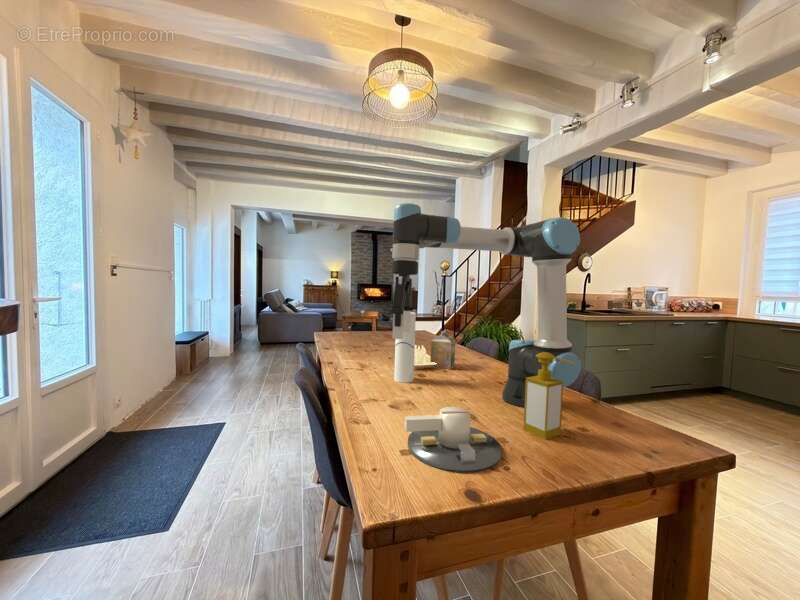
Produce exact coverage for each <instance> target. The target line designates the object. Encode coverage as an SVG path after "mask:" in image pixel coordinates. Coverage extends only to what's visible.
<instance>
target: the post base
mask: <svg viewBox="0 0 800 600" xmlns="http://www.w3.org/2000/svg"><path fill="white" fill-rule="evenodd" d="M470 434H484V435H485V436H486V438H487V442H473V441H472V440H471V438H470V441H469V443H468V444H457V448H458V449H454V448H449V447H446V446H443V445H442V444H440V442H439V440H438V438H439V430H435V431H413V432H410V434H409V435H408V438H407V447H408V450H409V452H410V453H411V455H412V456H413V457H414V458H415V459H416V460H418V461H420V462H421V463H422V464H423V463H424V464H425V465H426V466H427V465H428V466H430V467H433V468H436V469H439V470H442V471H449V472H453V473H476V472H482V471H486V470H488V469H491V468H493V467H494V466H496V465H497V464H498V463H500V461H501V459H502V455H503V453H502V452H503V450H502V447H501V444H500V442H499V441H498V440H497V439H496V438H495V437H493V436H492V435H490V434H489V433H487V432H485V431H483V430H481V429H478V428H476V427H472V426H470ZM427 436H434V437H435V438H436V440H437V444H432V445H423V444H422V442H421V437H427Z"/></svg>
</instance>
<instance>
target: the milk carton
mask: <svg viewBox="0 0 800 600" xmlns="http://www.w3.org/2000/svg"><path fill="white" fill-rule="evenodd" d="M429 361H430V362H435V363H437V364H436V365H433V366H432V367H434V368H433V369H437V368H439V369H438V370H445V369H448V371H451V370H452V369H453V368H454V367H455V366H454V365H455V361H456V338H455V337H454V336H452V335H451V334H450V333H449V332H447V329H445V330H442V331H441V333H440V335H438V336H435V337H434V338H432V339H431V341H430V360H429ZM430 362H429V363H430ZM453 366H454V367H453ZM452 367H453V368H452Z"/></svg>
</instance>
